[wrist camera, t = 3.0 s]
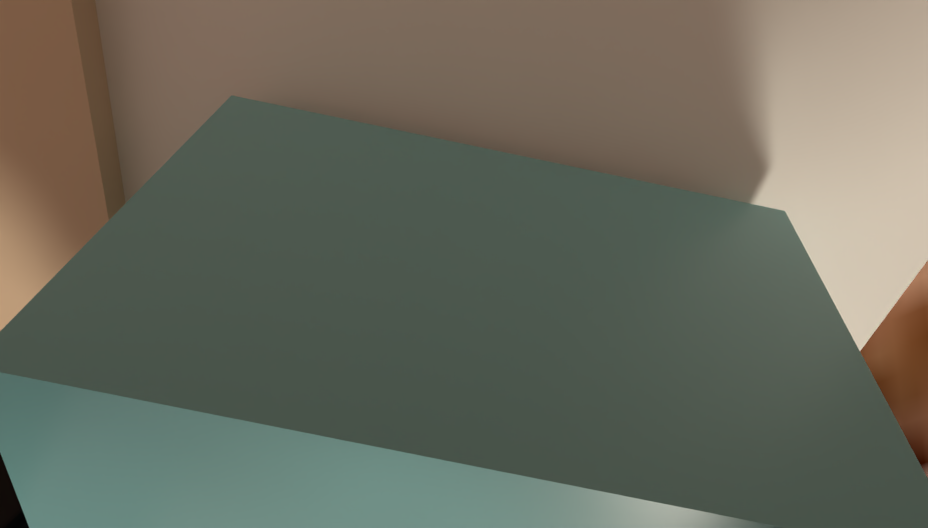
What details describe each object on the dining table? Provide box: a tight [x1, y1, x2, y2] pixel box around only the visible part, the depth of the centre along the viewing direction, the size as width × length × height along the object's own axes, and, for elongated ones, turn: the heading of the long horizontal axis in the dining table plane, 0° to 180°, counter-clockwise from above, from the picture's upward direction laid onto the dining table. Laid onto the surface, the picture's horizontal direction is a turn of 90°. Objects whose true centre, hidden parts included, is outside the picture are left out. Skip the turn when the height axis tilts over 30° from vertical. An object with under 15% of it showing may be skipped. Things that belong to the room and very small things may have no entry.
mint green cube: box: [0, 95, 928, 528], centre depth 7 cm, size 6×6×4 cm
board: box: [0, 0, 928, 351], centre depth 8 cm, size 19×14×5 cm
